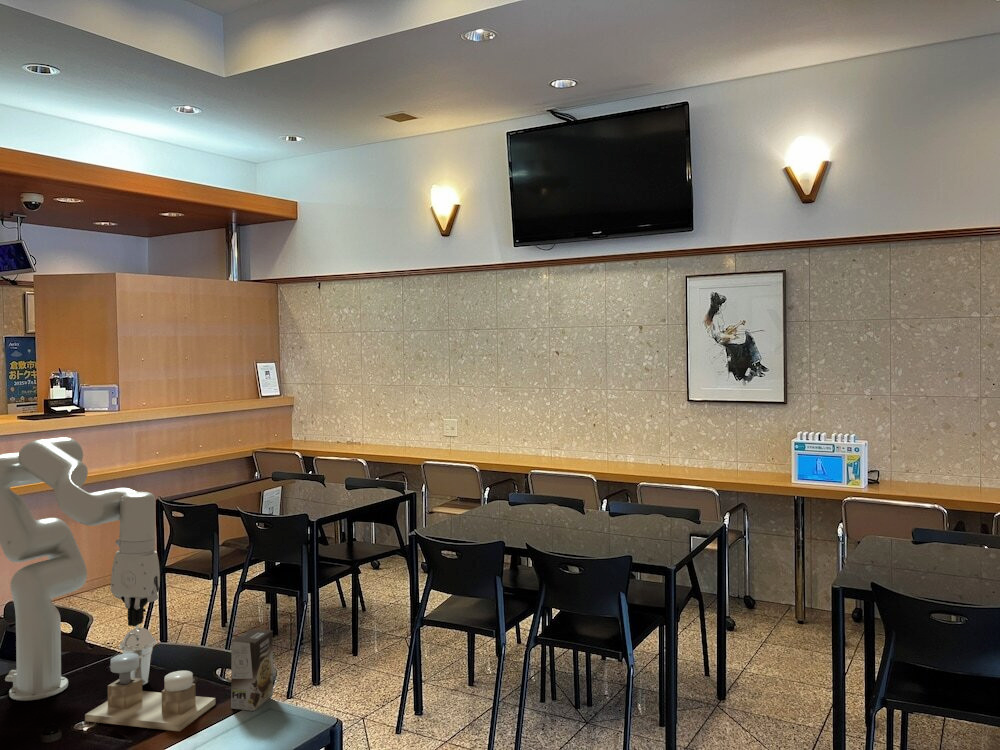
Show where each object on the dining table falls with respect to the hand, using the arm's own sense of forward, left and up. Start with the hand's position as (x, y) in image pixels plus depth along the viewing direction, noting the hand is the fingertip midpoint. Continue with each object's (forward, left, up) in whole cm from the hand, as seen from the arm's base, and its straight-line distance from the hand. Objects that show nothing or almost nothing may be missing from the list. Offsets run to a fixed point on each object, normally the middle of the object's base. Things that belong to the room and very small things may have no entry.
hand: (135, 624), depth 183 cm
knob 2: (+11, 0, -19) cm, 22 cm away
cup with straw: (-10, +14, -21) cm, 27 cm away
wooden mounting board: (+4, 0, -20) cm, 21 cm away
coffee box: (+24, +10, -21) cm, 33 cm away
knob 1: (-3, 0, -16) cm, 16 cm away
